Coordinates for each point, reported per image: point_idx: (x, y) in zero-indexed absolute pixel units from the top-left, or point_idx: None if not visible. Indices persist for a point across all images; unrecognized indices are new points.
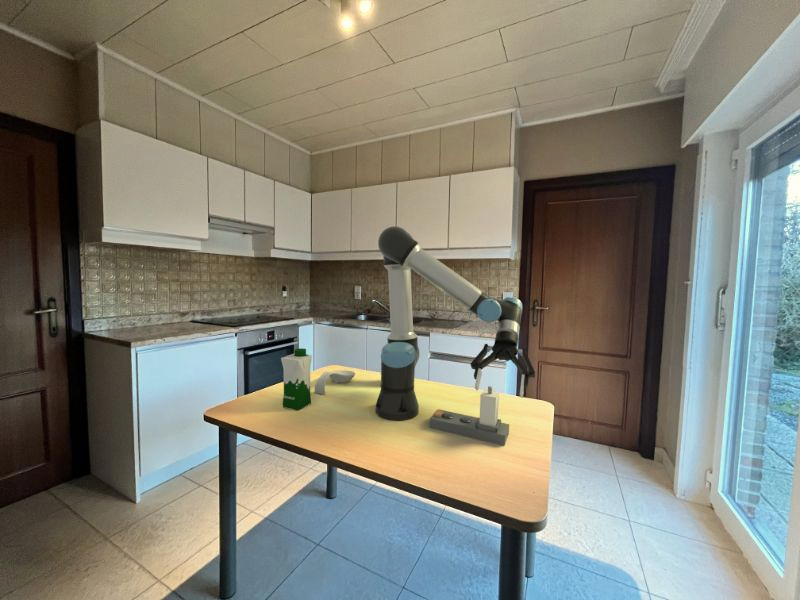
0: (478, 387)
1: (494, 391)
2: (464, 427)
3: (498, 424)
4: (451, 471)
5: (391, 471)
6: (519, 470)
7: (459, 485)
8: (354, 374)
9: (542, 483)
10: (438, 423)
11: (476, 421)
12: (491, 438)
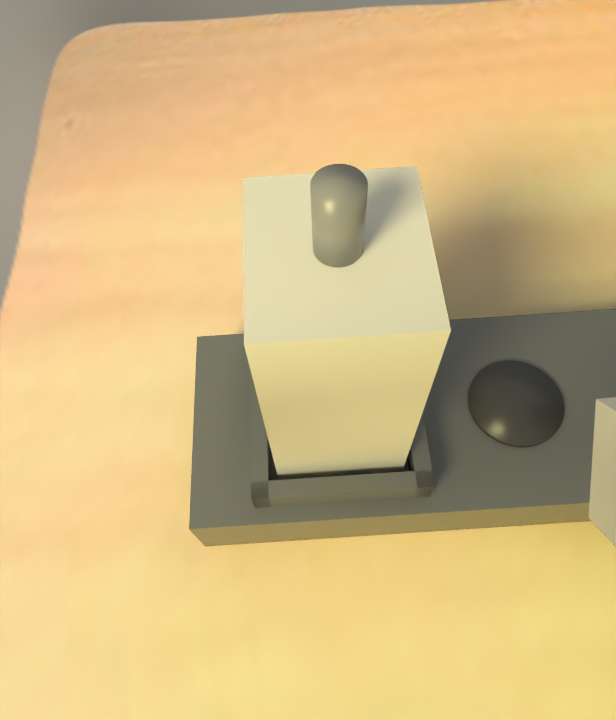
0: (609, 517)
1: (305, 334)
2: (473, 321)
3: (254, 396)
4: (372, 90)
5: (551, 11)
6: (120, 207)
7: (315, 51)
8: None
9: (31, 176)
10: None
11: (438, 432)
12: None
